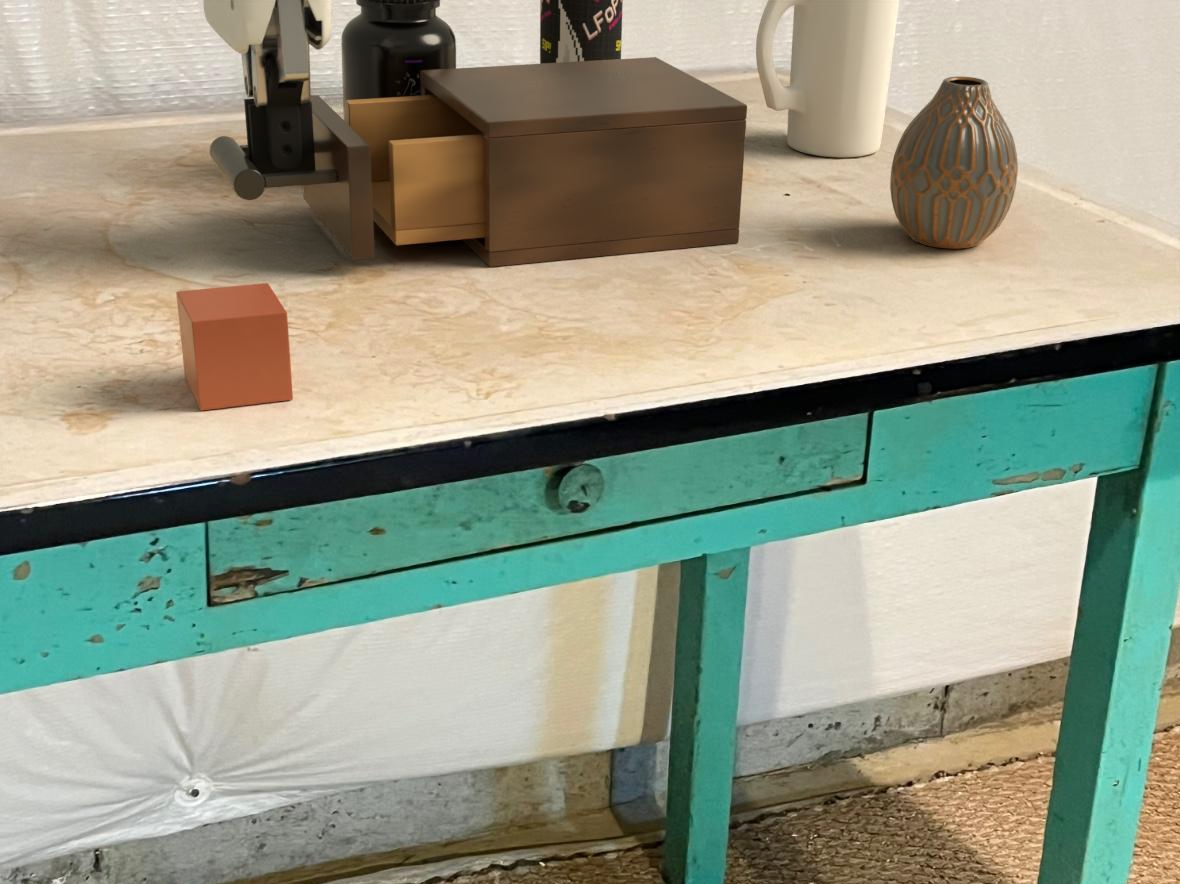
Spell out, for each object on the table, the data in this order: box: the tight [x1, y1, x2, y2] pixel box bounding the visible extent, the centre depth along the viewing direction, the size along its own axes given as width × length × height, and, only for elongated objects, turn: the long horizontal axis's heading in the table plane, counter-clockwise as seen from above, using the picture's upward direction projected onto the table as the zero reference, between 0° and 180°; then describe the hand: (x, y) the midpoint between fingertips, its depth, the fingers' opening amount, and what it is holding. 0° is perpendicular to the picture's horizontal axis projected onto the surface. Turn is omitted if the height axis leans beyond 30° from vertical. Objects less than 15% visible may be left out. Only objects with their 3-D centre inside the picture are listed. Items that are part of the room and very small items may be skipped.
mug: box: [755, 0, 900, 158], centre depth 110 cm, size 10×7×12 cm, turn 118°
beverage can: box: [539, 0, 624, 64], centre depth 119 cm, size 6×6×12 cm
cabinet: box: [420, 56, 748, 268], centre depth 95 cm, size 15×13×8 cm
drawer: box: [209, 94, 485, 260], centre depth 92 cm, size 19×11×6 cm, turn 111°
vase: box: [889, 76, 1019, 250], centre depth 94 cm, size 7×7×9 cm
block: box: [175, 282, 294, 411], centre depth 73 cm, size 4×4×4 cm
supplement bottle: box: [341, 0, 457, 122], centre depth 102 cm, size 7×7×12 cm
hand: (282, 176), depth 90 cm, fingers closed
